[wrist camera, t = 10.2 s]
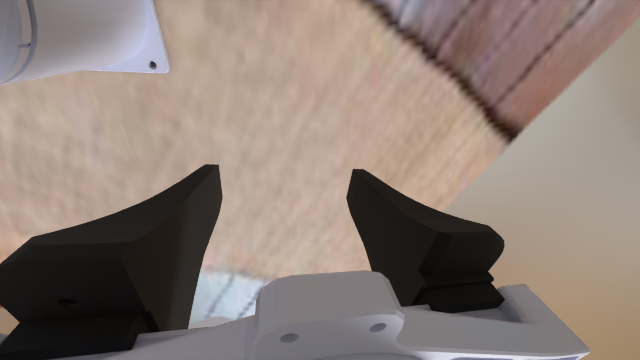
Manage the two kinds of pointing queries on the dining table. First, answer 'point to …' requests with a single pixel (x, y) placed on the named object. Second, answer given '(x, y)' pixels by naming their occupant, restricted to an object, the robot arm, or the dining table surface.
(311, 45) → the dining table surface
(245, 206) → the dining table surface
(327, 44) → the dining table surface
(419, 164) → the dining table surface
